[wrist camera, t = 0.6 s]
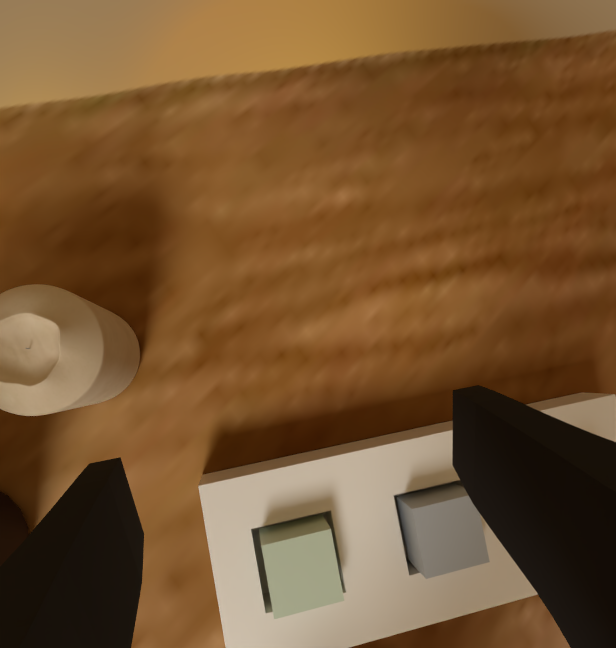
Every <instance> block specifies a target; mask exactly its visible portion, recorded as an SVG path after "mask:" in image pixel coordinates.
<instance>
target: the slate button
mask: <svg viewBox="0 0 616 648" xmlns="http://www.w3.org/2000/svg"><path fill="white" fill-rule="evenodd" d="M396 501H397V506H398V511H399V516H400V521H401V526H402V531H403V536H404V542H405V547H406V552H407V557H408V560H409V561H410V562H411V563H412V564H413V565H414V566H415V568H416V569H417V570H418V571H419V572H420V573H421V574H422V575H423V576H424V577H425V578H426V579H428V578H432V577H435V576H439V575H443V574H447V573H450V572H454V571H458V570H462V569H465V568H469V567H473V566H477V565H480V564H484V563H488V562H490V561H489V556H488V551H487V546H486V541H485V537H484V532H483V527H482V522H481V517H480V513H479V512H478V510H477V509H476V507H475V506H474V504H473V503H472V501H471V499H470V497H469V496H468V494H467V492H466V490H465V488H463V487H461V486H459V485H457V484H455V483H450V484H445V485H441V486H437V487H433V488H429V489H424V490H420V491H416V492H412V493H407V494H403V495H399V496H396Z"/></svg>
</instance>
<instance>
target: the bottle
mask: <svg viewBox="0 0 616 648" xmlns="http://www.w3.org/2000/svg"><path fill="white" fill-rule="evenodd" d="M27 537H28V526H27V524H26V522H25V519H24V517H23V515H22V512H21V510H20V509H19V508H18V507H17V505H16V504H15V503H14V502H13V501H12V500H11V499H10V498H9V497H8V496H7V495H5V494H3V493H1V492H0V566H1V565H2V564H3V563H4V562H5V561H6V560H7V559H8V558H9V556H10V555H11V554H12V553H13V552H14V551H15V550H16V549H17V548H18V547H19V546H20V545H21V544H22V542H23V541H24V540H25V539H26V538H27Z"/></svg>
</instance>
